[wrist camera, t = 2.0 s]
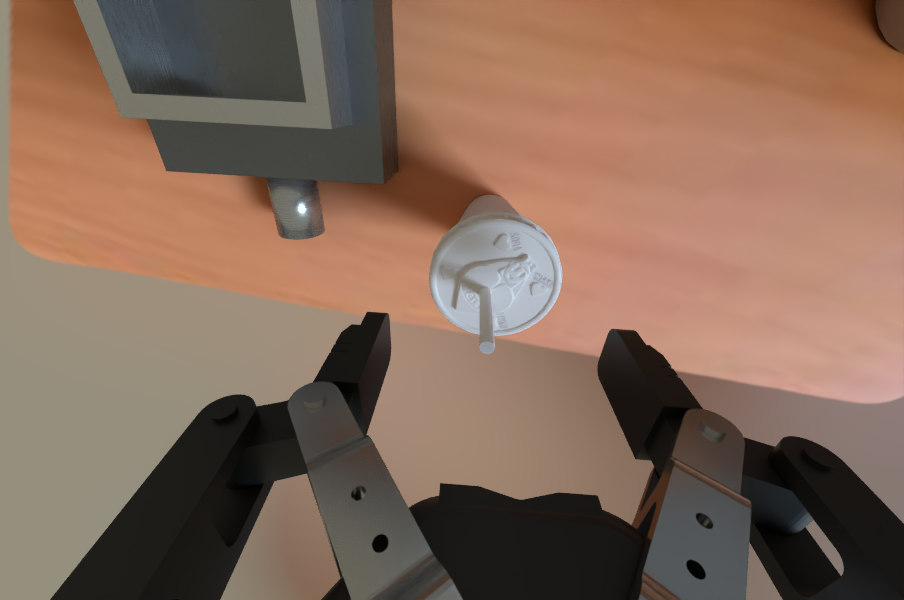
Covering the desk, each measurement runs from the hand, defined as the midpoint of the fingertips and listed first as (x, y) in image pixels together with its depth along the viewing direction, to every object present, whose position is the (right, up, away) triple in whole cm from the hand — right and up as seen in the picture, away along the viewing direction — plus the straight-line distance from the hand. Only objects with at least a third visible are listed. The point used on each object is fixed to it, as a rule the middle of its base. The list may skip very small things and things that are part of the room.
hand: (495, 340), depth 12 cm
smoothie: (+1, +7, +12) cm, 14 cm away
